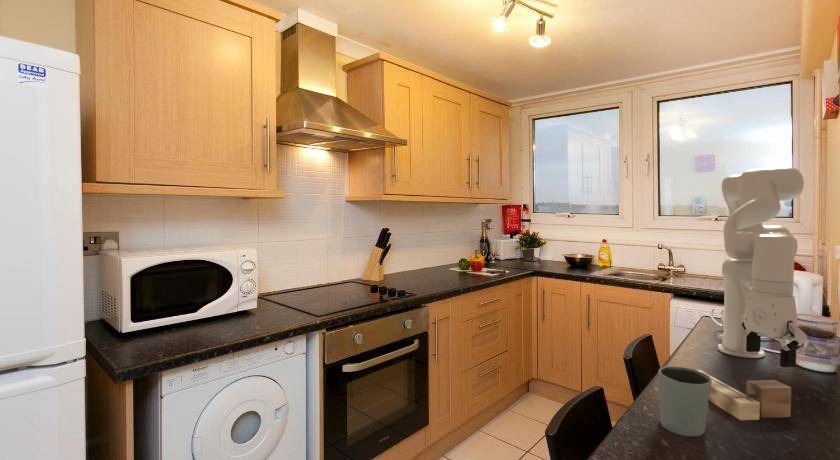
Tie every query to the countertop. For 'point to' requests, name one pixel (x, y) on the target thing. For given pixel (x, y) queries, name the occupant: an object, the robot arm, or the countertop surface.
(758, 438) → the countertop surface
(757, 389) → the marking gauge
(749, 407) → the guide plank
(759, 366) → the countertop surface
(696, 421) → the green cup
